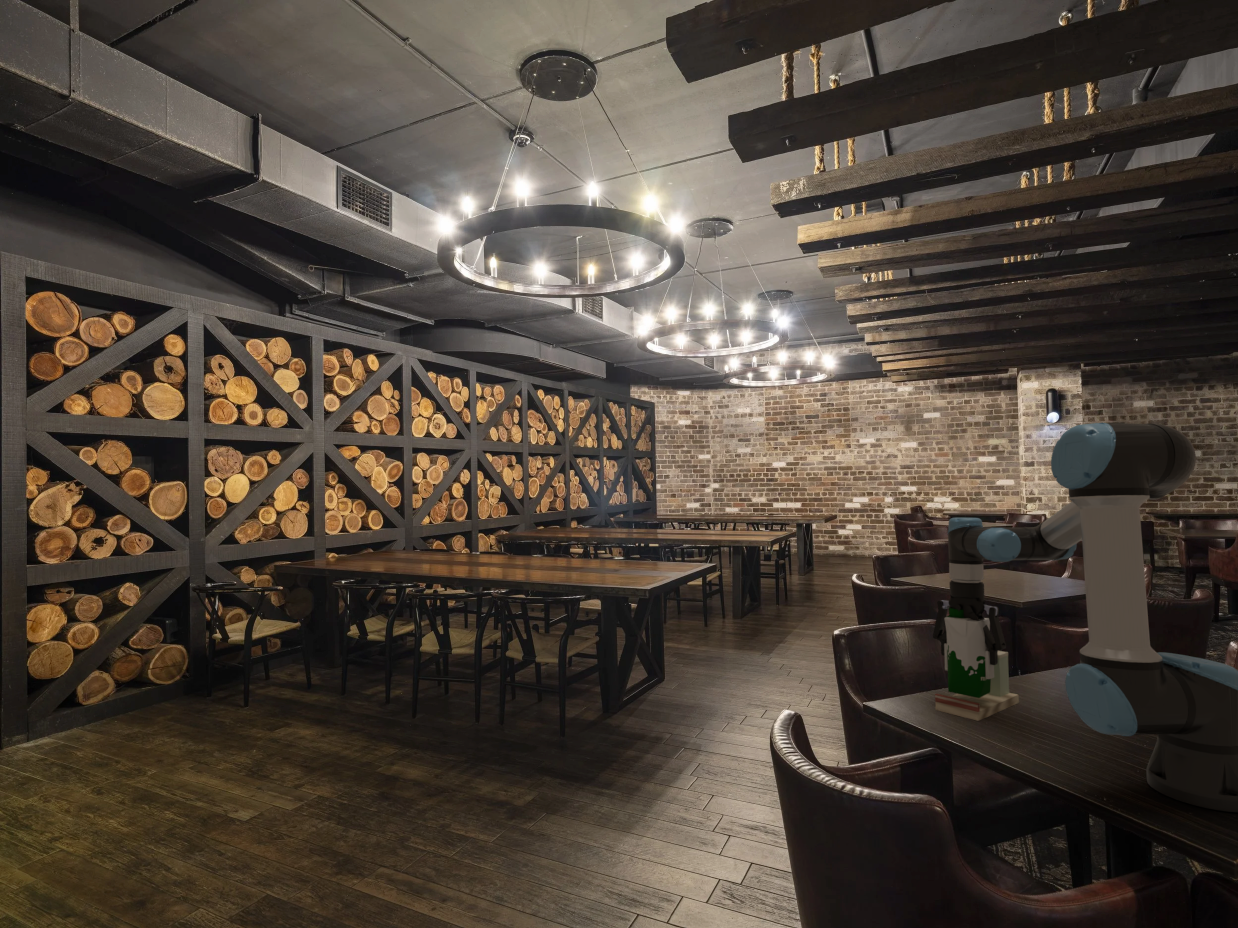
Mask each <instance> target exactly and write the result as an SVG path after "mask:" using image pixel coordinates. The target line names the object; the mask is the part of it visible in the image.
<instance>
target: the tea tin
mask: <svg viewBox="0 0 1238 928" xmlns="http://www.w3.org/2000/svg"><path fill="white" fill-rule="evenodd" d="M997 654H998V663H997V664H996V665H994V678H991V685H990V693H988V694H990V695H994V696H999V697H1001V696H1004V695H1006V694H1009V693H1010V679H1009V677H1010V675H1009V652H1008V651H1002V650H998V652H997Z"/></svg>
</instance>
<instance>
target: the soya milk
mask: <svg viewBox="0 0 1238 928" xmlns="http://www.w3.org/2000/svg"><path fill="white" fill-rule="evenodd" d="M944 619H945V625H944V626H945V629H946V632H947V665H948V671H947V687H948V688H947V691H948V692H949V693H953V694H962V695H966V696H971V697H976V698H980V697H982V696H984V695H986V694H988V693H990V685H991V679H986V667H985V651H986V650H989V649H988V647H987V645H986V643H985V636H984V630H983V627H984V626H985V625H987V626H988V628H989V630H990V631H991V625H990V621H989V617H984V619H985V620H981V621H975V620H972V619H971V618H964V610H960V611H958V609H952V608H951V607H950V606H949V608H948V615H947V616H946V617H945V618H944Z"/></svg>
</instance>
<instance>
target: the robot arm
mask: <svg viewBox="0 0 1238 928" xmlns="http://www.w3.org/2000/svg"><path fill="white" fill-rule="evenodd" d="M1051 453H1052V454H1051V457H1050V458H1051V459H1050V468H1051V469H1050V470H1051V473H1052V476H1053V478H1055V479H1056V480H1055V481H1056V482H1057V483H1058V484H1059V485H1060V486H1061V487H1063V488H1065V489H1068V500H1069V501H1071V502H1069V503H1067V504H1066V505H1065V506H1063V507H1062V508H1061V509H1059V510H1058V511H1057V512H1056V513H1054V514H1052V515H1051V516H1050V517H1049V518H1047V519H1046V520H1044V521H1042V523H1040V524H1038V525H1037V526H1034V527H1033V526H1032V527H1029V526H1028V527H1025V526H1024V527H1021V526H1020V527H986V526H984V525H983V520H982V519H981V518H979V517H952V518H949V520H948V530H947V540H948V542H947V543H948V545H947V546H948V562H949V563H948V566H949V567H948V574H949V575H948V576H949V579H951V580H950V581H949V600H945V599H942V600H938V601H937V603H936V604H937V615H936V618H935V622H934V628H933V632H932V639H934V640H937V641H939V642H940V654H941V656H944V671H947V672H948V665H947V632H946V628H945V626H946V625H945V619H944V618H945V617H947V616H948V615H947V614H948V610H949V607H951V608H952V609H958V611H960V610H964V618H971V619H972V620H975V621H981V620H985V619H984V618H985V616H984V614H983V613H984V612H985V611H986V615H987V616H988V618H989V621H990V630H989V628H988V626H987V625H985V626H984V627H983V630H984V636H985V643H986V645H987V647H988V649H989V650H986V651H985V667H986V679H991V678H994V665H996V664H997V663H998V654H997V652H998V651H1002V650H1004V649H1006V648H1007V643H1006V640H1005V637H1004V633H1003V628H1002V626H1001V625H1002V624H1001V621H1000V618H999V613H1000V608H999V607H998V606H996V605H995V606H992V605H987V604H986V602H985V583H984V582H983V580H984V579H985V576H984V575H985V574H984V573H985V572H984V560H986V561H991V562H995V563H998V562H1000V563H1007V562H1008V563H1009V562H1011V561H1059V560H1067V559H1069V558H1072V557H1073V556H1074V553H1075V552H1076V550H1077V546H1078V545H1077V544H1078V543H1079V542H1081V545H1082V557H1083V570H1084V585H1085V586H1084V587H1085V599H1086V600H1085V601H1086V614H1087V629H1088V631H1087V632H1088V642H1087V643H1085V645H1084V646H1083V647H1081V648H1080V649H1079V660H1080V661H1079V663H1077V664H1075V665H1073V666H1071V667H1070V668H1069V670H1068V672H1067V673H1066V675H1065V679H1064V680H1065V681H1064V682H1065V692H1066V695H1067V698H1068V701H1069V703H1070V705H1071V706H1072V709H1073V710H1074V712H1075V713H1076V714H1077V715H1078V717H1079V719H1080V720H1081V721H1082V722H1083V723H1084V724H1085V725H1087V726H1088V727H1089V728H1090V729H1092V730H1093V731H1096V732H1097V733H1100V734H1103V735H1113V736H1123V737H1132V736H1141V735H1142V736H1143V735H1144V736H1145V735H1146V736H1147V735H1149V736H1150V735H1156V738H1157V739H1156V742H1155V746H1154V748H1153V750H1152V753H1151V755H1150V758H1149V760H1148V763H1147V766H1146V782H1147V784H1148V785H1149V786H1150V787H1151V788H1152V789H1153V790H1155V791H1157V792H1158V793H1159V794H1162V795H1164V796H1166V797H1169V798H1171V799H1174V800H1176V801H1180V802H1182V803H1186V804H1188V805H1191V806H1197V807H1200V808H1204V809H1208V810H1209V809H1210V810H1215V811H1221V812H1227V813H1229V812H1230V813H1238V669H1236V667H1233V666H1231V665H1229V664H1225V663H1223V662H1218V661H1215V660H1211V659H1210V660H1209V659H1206V658H1202V657H1195V656H1189V655H1185V654H1178V653H1172V652H1165V651H1164V652H1160V651H1159V652H1157V651H1156V650H1155V649H1154V648H1153V647H1152V646H1151V641H1150V640H1151V639H1150V637H1151V636H1150V627H1149V616H1148V615H1149V613H1148V599H1147V589H1146V588H1147V587H1146V576H1145V562H1144V548H1143V547H1144V546H1143V537H1142V536H1143V535H1142V534H1143V533H1142V522H1141V511H1140V508H1141V506H1142V505H1143V504H1144V503H1146V502H1147V500H1159V499H1162V498H1164V497H1166V496H1167V495H1169V494H1170V493H1172V492H1173V491H1175V490H1176V489H1179V487H1180V486H1183V484H1185V483H1186V482H1187V480H1188V479H1189V478H1190V477H1191V475H1192V474H1193V472H1194V469H1195V467H1196V462H1197V456H1196V449H1195V448H1194V445H1193V443H1192V442H1191V440H1190V439H1189V438H1188V437H1187V436H1186V435H1185V434H1183V433H1182V432H1181V431H1180V430H1178V429H1175V428H1173V427H1171V426H1168V425H1166V424H1159V423H1124V422H1123V423H1122V422H1121V423H1119V422H1116V423H1115V422H1095V423H1084V424H1078V425H1075V426H1072V427H1070V428H1068V429H1067V430H1066V431H1064V432H1063V434H1061V436H1060V438H1059V439H1058V440H1057V441H1056V443H1055V445H1054V447H1053V450H1052V452H1051Z"/></svg>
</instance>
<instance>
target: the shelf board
mask: <svg viewBox="0 0 1238 928" xmlns="http://www.w3.org/2000/svg"><path fill="white" fill-rule="evenodd" d="M1019 696H1020V695H1019V694H1017V693H1011V692H1009V694H1006V695H1004V696H1001V697H999V696H994V695H990V694H986V695H984V696H982V697H980V698H976V697H971V696H966V695H962V694H957V693H953V694H952V695H949V696H948V695H944V694H940V693H935V694H934V698H935V700H934V701H935V703H934V704H935V705H934V706H935V708H934V709H935V711H937V712H938V711H939V712H942V713H945V714H950V715H953V716H958V717H962V718H965V719H969V720H973V721H978V722H979V721H981V720H984V719H986V718H988V717H991V716H992V715H995V714H998V713H999V712H1002V711H1003V710H1006V709H1008V708H1010V707H1012V706H1013V707H1014V706H1015V705H1017V704H1019V703H1020V698H1019Z"/></svg>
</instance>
